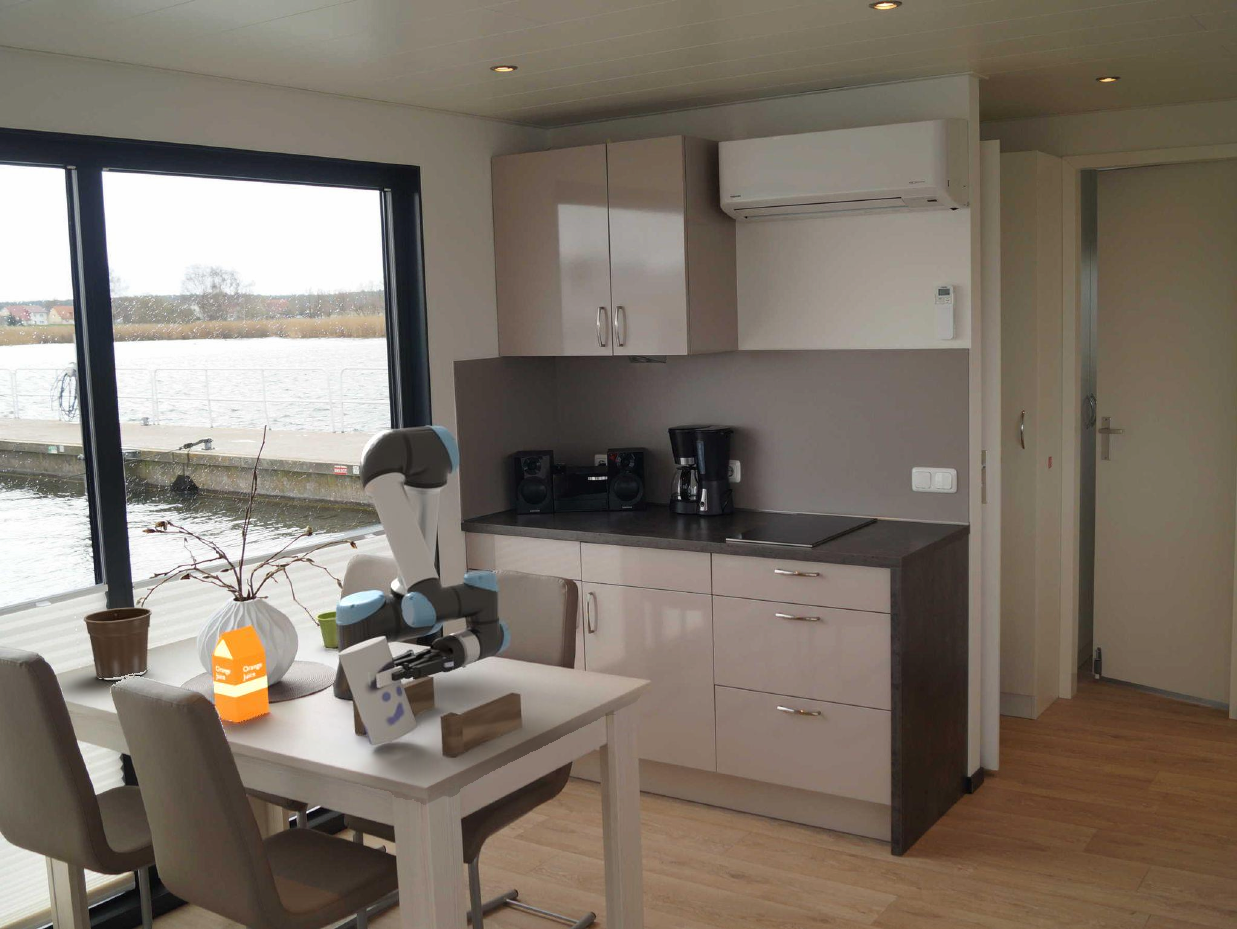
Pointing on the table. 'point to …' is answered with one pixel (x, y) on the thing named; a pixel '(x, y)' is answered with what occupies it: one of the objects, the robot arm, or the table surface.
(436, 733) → the table surface
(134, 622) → the plant pot
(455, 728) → the channel
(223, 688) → the orange juice
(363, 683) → the container
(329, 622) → the plant pot
